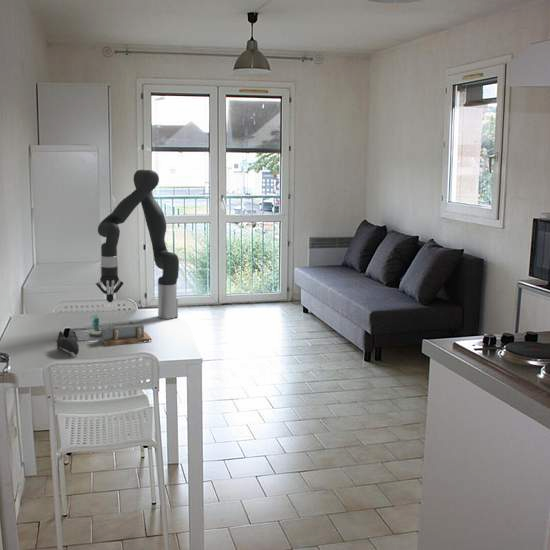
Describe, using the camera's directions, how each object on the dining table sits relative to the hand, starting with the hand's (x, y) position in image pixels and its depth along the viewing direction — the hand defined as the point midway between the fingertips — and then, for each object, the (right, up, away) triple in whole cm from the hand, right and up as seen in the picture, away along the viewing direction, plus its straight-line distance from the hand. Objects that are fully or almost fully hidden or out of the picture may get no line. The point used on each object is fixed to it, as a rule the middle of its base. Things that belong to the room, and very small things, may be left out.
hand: (109, 301), depth 330 cm
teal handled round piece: (-5, -13, -5) cm, 15 cm away
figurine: (-9, -20, -35) cm, 42 cm away
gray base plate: (-6, -15, -8) cm, 18 cm away
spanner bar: (+9, -15, -17) cm, 24 cm away
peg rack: (+11, -17, -16) cm, 25 cm away
